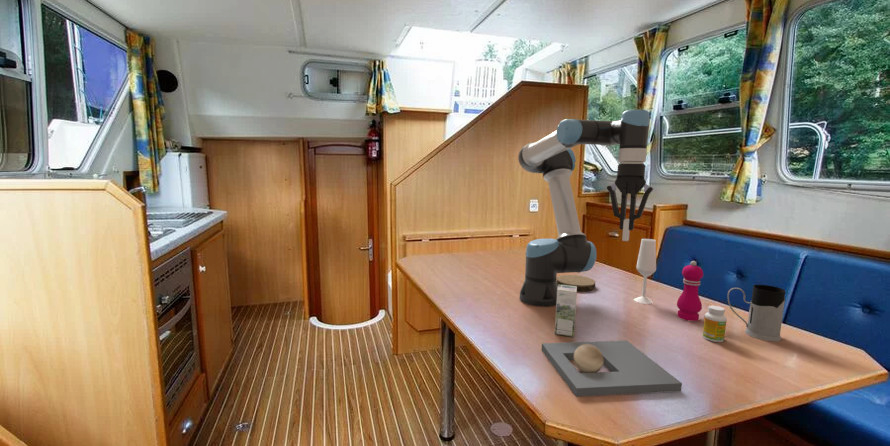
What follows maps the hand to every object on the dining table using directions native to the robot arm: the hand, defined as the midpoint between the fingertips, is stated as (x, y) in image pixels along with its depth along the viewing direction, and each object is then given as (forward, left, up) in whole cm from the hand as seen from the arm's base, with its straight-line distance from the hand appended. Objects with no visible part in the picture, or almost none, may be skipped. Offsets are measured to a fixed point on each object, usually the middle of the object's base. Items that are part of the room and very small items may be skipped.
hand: (625, 240), depth 119 cm
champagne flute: (+3, +33, -29) cm, 44 cm away
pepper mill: (+18, +23, -29) cm, 41 cm away
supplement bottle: (+25, +8, -29) cm, 39 cm away
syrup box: (-13, -14, -29) cm, 34 cm away
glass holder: (+35, +20, -29) cm, 49 cm away
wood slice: (-24, +37, -29) cm, 53 cm away
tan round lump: (-1, -34, -25) cm, 42 cm away
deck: (+2, -30, -28) cm, 41 cm away
